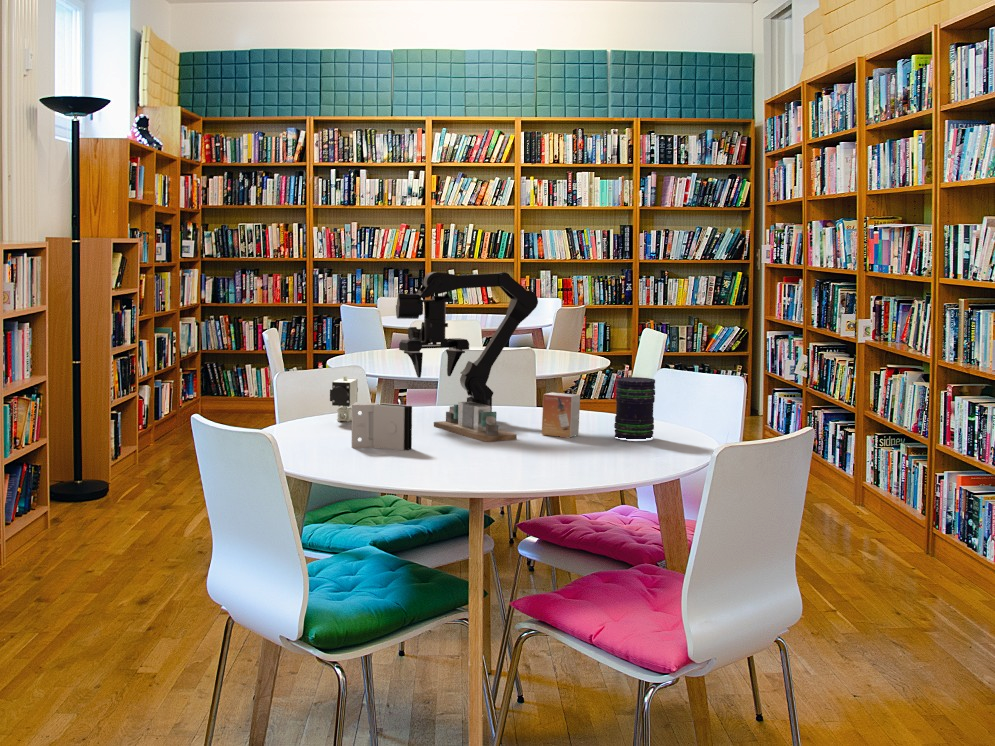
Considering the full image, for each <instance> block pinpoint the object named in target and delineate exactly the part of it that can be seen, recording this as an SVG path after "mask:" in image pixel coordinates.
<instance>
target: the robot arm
mask: <svg viewBox="0 0 995 746" xmlns="http://www.w3.org/2000/svg"><path fill="white" fill-rule="evenodd" d="M422 282H423V283H422V284H423V285H421V287H420V288H419V289H418V291H417V292H416V293H402V292H399V293H397V299H396V304H395V315H396V318H397V319H399V320H401V319H402V320H407V319H408V320H410V319H411V320H413V319H414V320H416V319H417V320H418V319H419V317H420V316H424V317H423V321H422V322H421V328H418V327H417V326H410V327H408V331H407V337H408V339H401V340H400V342H399V344H398V351H403V353H404V354H406V355H408V357H409V358H410V360H411V362H412V365H413V368H414V370H415V373H416V377H417V378H421V377H422V371H423V370H422V369H423V355H424V354H423V352H421V350H422V349H423V350H424V349H445V352H446V355H447V365H446V367H447V368H446V373H447V377H451V376H452V374H453V372H454V369H455V368H456V366H457V364H458V361H459V360H460V358H461V357H462V354H465V353H466V351H467V350H470V342H469V340H468V339H466V338H457V337H456V338H455V337H452V338H450V337H449V338H446V328H449V323H448V322H447V321H446V320H447V319H446V318H447V316H446V313H447V312H446V311H447V308H446V306H447V305H446V304H447V303H453V302H454V299H453V298H451V296H450V295H449V293H448V292H452V291H455V290H459V289H477V288H478V289H479V288H493V287H495V288H497V287H498V288H499V289H501V290H502V292H503V293H505V295H506V296H507V297H508V298H509V299H510V301H509V304H508V306H507V310H506V313H505V316H504V317H503V319H502V321H501V323H500V324H499V326H498V327H497V329H496V331H494V333H493V335H492V337H491V338H490V340H489V341H488V342H487V344H486V346H485V347H484V348H483V350H482V352H481V354H480V355H479V357H478V358H477V359H476V360H475V361H474V362H472V361H470V360H468V361H467V363H466V365H465V367H464V369H463V370H461V371H460V374H461V375H460V378H459V382H460V386H461V388H463V389H464V391H466V394H467V397H466V402H468V401H471V402H475V403H480V404H484V405H488V406H491V412H493V410H492V409H493V396H494V391H493V390H492V389H491V388H490V387H489V386H488V385H487V383H488V380H489V378H490V374H491V370H492V367H493V365H494V364H495V362H496V361H497V359H498V357H500V355H501V353H502V351H503V350H504V348H505V347H506V345H507V343H508V342H509V340H510V339H511V337H512V335H513V334H514V332H515V331H516V330H517V328H518V326H519V325H520V324H521V323H522V322H523V321H524V320H526V319H527V317H528V316H530V315H531V314H532V312H533V311H534V310H536V308H537V306H538V303H539V299H538V296H537V294H536V293H535V292H534V291H531V290H528V289H526V288H525V287H524V286H522V285H521V283H519V282H518V281H517V280H515V279H514V278H513V277H512V276H511V275H510V274H509V273H508V272H505V271H504V272H503V271H499V272H495V273H494V272H493V273H490V272H489V273H473V274H454V273H444V272H437V271H432V272H428V273H427V274H425V276H424V278H423V281H422ZM440 294H443V295H440ZM430 297H431V299H422V298H430ZM423 313H424V314H423Z"/></svg>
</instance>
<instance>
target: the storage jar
mask: <svg viewBox="0 0 995 746" xmlns="http://www.w3.org/2000/svg"><path fill="white" fill-rule="evenodd" d="M655 389H656V379H654V378H649V377H640V376H639V377H637V376H636V377H635V376H630V377H629V376H625V377H623V376H622V377H621V376H620V377H617V378H616V385H615V402H616V405H615V406H616V407H615V408H616V409H615V410H616V412H615V413H616V414H615V416H614V425H613V426H614V427H613V428H614V437H618V438H626V439H646V438H651V437H653V438H654V430H655V424H654V423H655V419H654V403H655V400H656V399H655V398H656V396H655V395H656V390H655Z"/></svg>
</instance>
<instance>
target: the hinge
mask: <svg viewBox="0 0 995 746" xmlns="http://www.w3.org/2000/svg"><path fill="white" fill-rule="evenodd" d="M351 408H352V420H351V448H352V449H355V448H375V449H383V450H384V449H386V450H394V451H395V450H396V451H409V450H412V449H413V448H412V444H413V443H412V440H413V438H412V436H413V434H412V433H413V431H412V429H413V427H412V426H413V406H411V405H410V404H409V405H408V404H397V403H386V402H385V403H382V402H381V403H380V404H379V402H368V403H367V404H365V403H364V404H362V403H361V404H360V403H359V404H357V403H355V404H352V405H351ZM359 412H361V414H359ZM359 438H361V440H359Z"/></svg>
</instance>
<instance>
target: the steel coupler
mask: <svg viewBox="0 0 995 746" xmlns="http://www.w3.org/2000/svg"><path fill="white" fill-rule="evenodd" d="M457 405H458V425H459V426H462V427H465V428H468V429H472V430H476V431H484V430H486V427H482V426H481V417H482V412H491V406H488V405H484V404H480V403H475V402H471V401H468V402H467V401H458V404H457Z"/></svg>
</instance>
